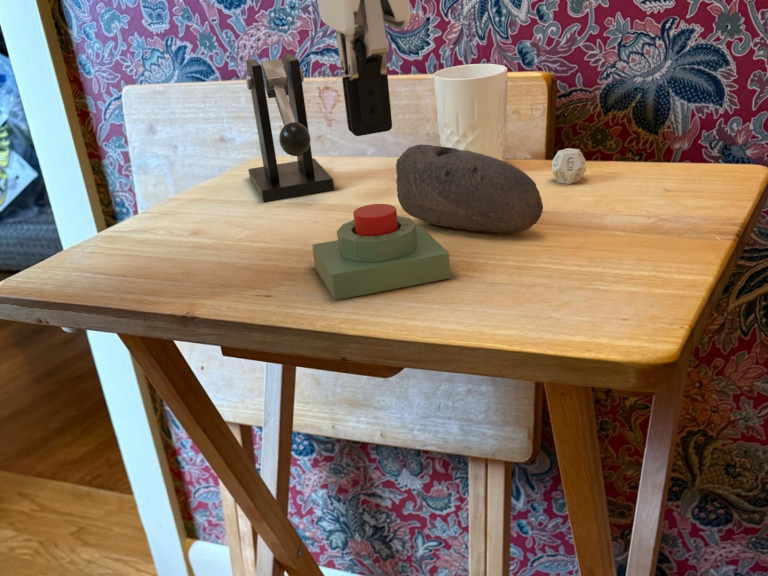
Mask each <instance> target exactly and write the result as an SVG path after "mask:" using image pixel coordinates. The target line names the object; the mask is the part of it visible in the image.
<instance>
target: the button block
mask: <svg viewBox="0 0 768 576" xmlns="http://www.w3.org/2000/svg"><path fill="white" fill-rule="evenodd" d="M397 222H398V230H397V231H395V232H392V233H390V234H385V235H380V236H361V235H357V234H356V233H355V224H354V219H353V220H350V221H348V222H345V223H343V224H342V225H341V226H340V227H339V228H338V229H337V230H336V236H337V240H330V241H326V242H320V243H315V244H314V243H313V244H312V245H311V247H312V253H313V261H314V267H315V268H314V269H315V270H316V272H317V273H318V275H319V277H320V278H321V280H322V282H323V283H324V284H325V286H326V288H327V289H328V291H329V293H330V294H331V296H332V297H333V299H334V300H335V301H340V300H345V299H350V298H354V297H355V298H356V297H359V296H366V295H371V294H375V293H380V292H385V291H392V290H396V289H397V290H398V289H403V288H408V287H413V286H418V285H422V284H428V283H433V282H438V281H444V280H448V279H451V268H450V253H449V252H448V251H447V250H446V249H445V248H444V247H443V246H442V245H441V244H440V242H438V240H436V239H435V238H434V237H433V236H432V235H431V234H430V233H429V232H428V231H427V230H426V229H425V228H424V227H422V226H421V225H417V224H416V222H414V220H413V219H412V218H411V217H407V216H402V215H398V214H397Z"/></svg>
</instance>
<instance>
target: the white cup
mask: <svg viewBox="0 0 768 576" xmlns="http://www.w3.org/2000/svg"><path fill="white" fill-rule="evenodd" d="M508 69H509V68H508V67H507V66H505V65H501V64H496V63H471V64H461V65H455V66H450V67H445V68H442V69H439V70H436V71H435V72H434V73H433V76H432V77H433V86H434V98H435V108H436V116H437V117H436V119H437V120H436V121H437V126H438V127H437V128H438V132H439V133H438V134H439V135H438V136H439V143H440V146H442V147H449V148H455V149H459V150H462V151H464V150H468V151H472V152H475V153H479V154H483V155H486V156H490V157H493V158H496V159H499V160H502V161H504V162H505V160H504V158H505V157H504V156H505V151H504V150H505V142H506V127H507V126H506V124H507V106H508V105H507V103H508V102H507V101H508V98H507V97H508Z"/></svg>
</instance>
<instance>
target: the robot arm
mask: <svg viewBox="0 0 768 576" xmlns="http://www.w3.org/2000/svg"><path fill="white" fill-rule="evenodd" d="M316 3H317V8H318V13H319V17H320V19H321V21H322V22H323V23H324V24H325V25H327V26H328V27H330V28H332V29H333V30H335V35H336V42H337V48H338V54H339V61H340V69H341V72H342V77H341V80H342V90H343V98H344V106H345V113H346V121H347V122H346V123H347V129H348V131H349V132H350V133H351V134H352V135H354V136H355V137H362V136H368V135H372V134H381V133H385V132H390V131H391V130H392V128H393V119H392V109H391V97H390V88H389V87H390V86H389V76H388V60H387V53H388V42H387V41H388V40H387V33H386V27H385V25H386V26H388V27H389V26H390V27H392V28H394V29H397V30H403V29H406V28H407V27H408V26H409V24H410V21H411V6H410V0H316Z"/></svg>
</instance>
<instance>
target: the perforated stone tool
mask: <svg viewBox="0 0 768 576" xmlns="http://www.w3.org/2000/svg"><path fill="white" fill-rule="evenodd" d="M395 162H396V164H395V173H396V180H395V184H396V193H397V200H398V203H399V205H400V207H401V209H402V210H403V211H404V212H405V213H406V214H408V215H409V216H410V217H412V218H415V219H417V220H420V221H423V222H426V223H429V224H432V225H435V226H438V227H444V228H452V229H458V230H465V231H473V232H475V231H477V232H478V231H479V232H485V233H495V234H507V233H509V234H511V233H518V232H522V231H527V230H529V229H531V228H532V227H533V226H534V225H536V224H537V223H538V221H539V220H540V219H541V217H542V214H543V210H544V204H543V203H544V202H543V199H542V196H541V193H540V191H539V189H538V187H537V183H536V182H535V181H534V180H533V179H532V178H531V177H530V176H529V175H528V174H527V173H526V172H524V171H523V170H521V169H520V168H518V167H516V166H515V165H513V164H511V163H508V162H506V161H505V160H504V161H502V160H499V159H496V158H493V157H490V156H486V155H483V154H479V153H475V152H472V151H468V150H464V151H462V150H459V149H455V148H449V147H442V146H441V145H431V144H416V145H413V146H410V147H408V148H407V149H405V151H403V153H401V155H400V156H399V157H398V158H396V161H395Z"/></svg>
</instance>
